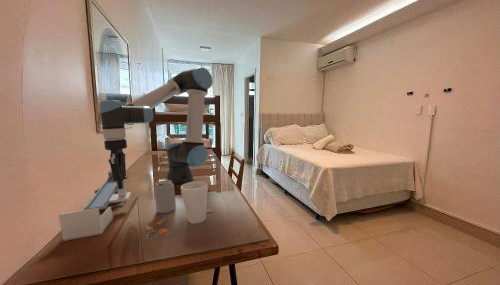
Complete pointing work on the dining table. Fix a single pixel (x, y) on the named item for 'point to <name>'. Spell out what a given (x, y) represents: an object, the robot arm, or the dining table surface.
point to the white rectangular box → (84, 223)
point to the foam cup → (195, 200)
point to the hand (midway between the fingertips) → (122, 195)
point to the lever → (107, 194)
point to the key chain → (155, 230)
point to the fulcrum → (114, 204)
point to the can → (164, 196)
